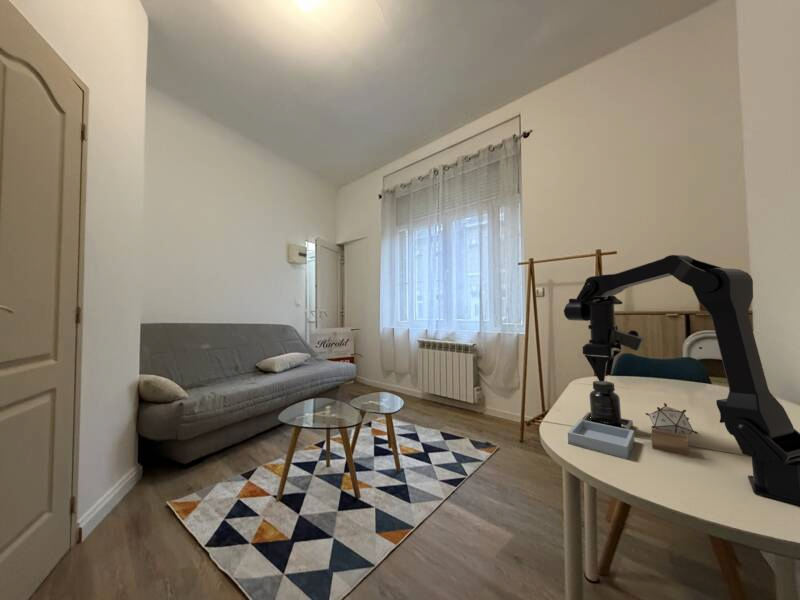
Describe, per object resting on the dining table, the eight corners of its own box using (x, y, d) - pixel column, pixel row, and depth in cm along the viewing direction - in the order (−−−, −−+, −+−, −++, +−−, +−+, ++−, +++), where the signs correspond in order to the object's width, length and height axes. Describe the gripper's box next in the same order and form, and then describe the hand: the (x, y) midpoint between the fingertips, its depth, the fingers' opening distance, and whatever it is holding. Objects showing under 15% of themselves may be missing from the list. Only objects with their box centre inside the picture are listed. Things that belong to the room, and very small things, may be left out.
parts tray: (627, 459, 62) (627, 446, 62) (568, 443, 70) (567, 432, 70) (634, 441, 70) (633, 430, 70) (580, 429, 78) (579, 419, 78)
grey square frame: (627, 438, 71) (627, 432, 72) (579, 427, 79) (579, 421, 79) (632, 426, 79) (632, 420, 79) (588, 417, 86) (588, 412, 86)
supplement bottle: (592, 420, 84) (590, 378, 84) (622, 425, 79) (619, 381, 80) (589, 428, 78) (587, 383, 79) (621, 434, 74) (618, 386, 75)
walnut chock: (689, 457, 62) (688, 441, 62) (652, 449, 66) (651, 433, 66) (688, 451, 65) (687, 435, 65) (653, 443, 69) (652, 428, 69)
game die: (668, 456, 69) (642, 424, 69) (656, 431, 76) (632, 402, 77) (714, 447, 64) (686, 412, 65) (697, 421, 72) (672, 389, 72)
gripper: (635, 323, 68) (638, 390, 67) (643, 320, 81) (647, 376, 80) (580, 322, 76) (583, 382, 75) (596, 320, 89) (599, 371, 88)
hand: (605, 377), depth 79 cm, fingers open, 9 cm apart
